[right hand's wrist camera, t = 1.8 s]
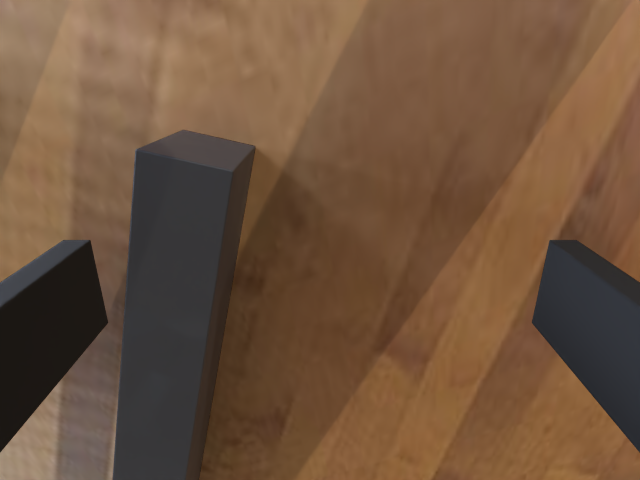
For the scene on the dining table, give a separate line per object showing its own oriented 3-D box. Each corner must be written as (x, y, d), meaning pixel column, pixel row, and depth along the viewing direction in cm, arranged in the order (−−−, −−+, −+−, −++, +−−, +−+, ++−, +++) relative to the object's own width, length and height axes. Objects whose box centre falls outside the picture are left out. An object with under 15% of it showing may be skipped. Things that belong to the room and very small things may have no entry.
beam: (182, 129, 29) (134, 149, 21) (255, 145, 29) (233, 170, 22) (143, 498, 42) (104, 591, 34) (194, 506, 42) (167, 600, 35)
